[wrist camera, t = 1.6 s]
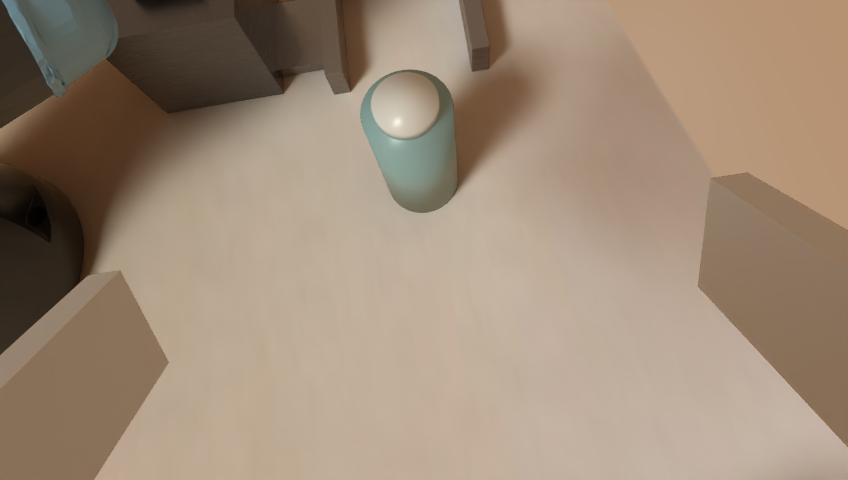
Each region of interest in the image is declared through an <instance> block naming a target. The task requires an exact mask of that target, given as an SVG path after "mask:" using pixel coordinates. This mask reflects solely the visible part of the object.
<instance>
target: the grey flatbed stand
mask: <svg viewBox="0 0 848 480" xmlns="http://www.w3.org/2000/svg"><path fill="white" fill-rule="evenodd" d="M107 1H108V3H109V5H110V7H111V9H112V10H113V12H114V15H115V17H116V20H117V24H118V41H117V44H116V47H115V49H114V50H113V52H112V53H111V54H110V55H109V57H107V58H106V59H107V60H108V61H109V62H110V63H111V64H112V65H114V66H115V67H116V68H117V69H118V70H119V71H120V72H122V73H123V74H124V75H125V76H126V77H127V78H128V79H129V80H131V81H132V82H133V83H134V84H135V85H136V86H137V87H138V88H140V89H141V90H142V91H143V92H144V93H145V94H146V95H147V96H149V97H150V98H151V99H152V100H153V101H154V102H155V103H156V104H158V105H159V106H160V107H161V108H162V109H163V110H164V111H166V112H167V113H171V112H177V111H183V110H189V109H195V108H201V107H207V106H213V105H219V104H224V103H230V102H236V101H242V100H248V99H254V98H260V97H266V96H272V95H278V94H284V91H283V76H287V75H293V74H299V73H305V72H311V71H317V70H323V69H324V70H325V76H326V78H327V80H328V82H329V84H330V86H331V88H332V90H333V93H334V94H340V93H346V92H350V83H349V73H348V63H347V53H346V43H345V33H344V23H343V13H342V3H341V0H293V1H288V2H282V3H279V1H278V0H107ZM459 3H460V9H461V14H462V20H463V25H464V30H465V36H466V41H467V47H468V52H469V58H470V63H471V68H472V71H477V70H483V69H489V51H490V45H489V40H488V35H487V30H486V25H485V20H484V15H483V10H482V5H481V0H459Z"/></svg>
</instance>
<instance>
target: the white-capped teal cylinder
mask: <svg viewBox="0 0 848 480" xmlns="http://www.w3.org/2000/svg"><path fill="white" fill-rule="evenodd" d="M360 117H361V123H362V126H363V129H364V131H365V134H366V136H367V138H368V141H369V143H370V145H371V148H372V150H373V152H374V155H375V157H376V160H377V162H378V164H379V167H380V169H381V171H382V174H383V176H384V178H385V181H386V183H387V186H388V188H389V190H390V193H391V195H392V197H393V198H394V200H395V201H396V202H397V203H398V204H399V205H400V206H402V207H403V208H405V209H407V210H409V211H412V212H418V213H426V212H431V211H435V210H437V209H439V208H441V207H443V206H444V205H445V204H447V203H448V202H449V201H450V199H451V198H452V197H453V195H454V193H455V191H456V189H457V185H458V170H457V153H456V137H455V121H454V105H453V100H452V97H451V94H450V92H449V90H448V88H447V87H446V86H445V84H444V83H443V82H442V81H440V80H439V79H438V78H437V77H435V76H433V75H431V74H429V73H427V72H423V71H419V70H401V71H396V72H393V73H390V74H388V75H386V76H384V77H382V78H381V79H379V80H378V81H377V82H376V83H375V84H373V85H372V87H371V88H370V89H369V90H368V92H367V93H366V95H365V97H364V99H363V102H362V105H361V113H360Z"/></svg>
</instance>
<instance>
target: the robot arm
mask: <svg viewBox="0 0 848 480" xmlns="http://www.w3.org/2000/svg"><path fill="white" fill-rule="evenodd" d="M117 41H118V24H117V20H116V17H115V15H114V12H113V10H112V9H111V7H110V5H109V3H108V1H107V0H0V128H2V127H3V126H5V125H7V124H8V123H10V122H11V121H13V120H14V119H16V118H18V117H19V116H21V115H22V114H24V113H25V112H27V111H29V110H30V109H32V108H33V107H35V106H36V105H38V104H40V103H41V102H43V101H44V100H46V99H47V98H49V97H51V96H52V95H55V96H56V97H58V98H59V97H61V96H63V95H64V94H65V93H66V88H67V86H68V85H70V84H71V83H73V82H74V81H75V80H77V79H78V78H80V77H81V76H82V75H84V74H85V73H87V72H88V71H90V70H91V69H92V68H94V67H95V66H97V65H98V64H99V63H101V62H102V61H104V60H105V59H106V58H107V57H109V55H110V54H111V53H112V52H113V50H114V49H115V47H116V44H117ZM82 258H83V238H82V231H81V227H80V223H79V220H78V217H77V215H76V212H75V210H74V208H73V206H72V205H71V203H70V202H69V200H68V199H67V198H66V197H65V195H64V194H63V193H62V192H61V191H60V190H59V189H57V188H56V187H55V186H53V185H52V184H51V183H49V182H47V181H45V180H43V179H41V178H39V177H37V176H35V175H33V174H31V173H29V172H26V171H24V170H22V169H20V168H18V167H15V166H12V165H9V164H5V163H1V162H0V480H94V479H95V477H96V476H97V474H98V472H99V471H100V469H101V468H102V466H103V465H104V463H105V461H106V460H107V458H108V457H109V455H110V454H111V452H112V451H113V449H114V447H115V446H116V444H117V443H118V441H119V440H120V438H121V436H122V435H123V433H124V432H125V430H126V429H127V427H128V425H129V424H130V422H131V421H132V419H133V418H134V416H135V414H136V413H137V411H138V410H139V408H140V407H141V405H142V404H143V402H144V400H145V399H146V397H147V396H148V394H149V393H150V391H151V389H152V388H153V386H154V385H155V383H156V382H157V380H158V378H159V377H160V375H161V374H162V372H163V371H164V369H165V367H166V366H167V364H168V363H169V362H168V360H167V358H166V356H165V354H164V352H163V350H162V349H161V347H160V345H159V343H158V341H157V339H156V337H155V335H154V333H153V332H152V330H151V328H150V326H149V324H148V322H147V320H146V318H145V316H144V314H143V313H142V311H141V309H140V307H139V305H138V303H137V301H136V299H135V297H134V296H133V294H132V292H131V290H130V288H129V286H128V284H127V282H126V280H125V279H124V277H123V275H122V273H121V271H120V270H119V271H112V272H106V273H100V274H93V275H88V276H87V277H86V278H85V279H84V280H82V281H81V282H80V283H79V284H78V285H77V282H78V279H79V275H80V271H81V266H82ZM698 287H699V288H700V289H701V290H702V291H703V292H704V293H705V295H706V296H707V297H708V298H709V299H710V300H711V301H712V302H713V303H714V304H715V305H716V306H717V307H718V308H719V310H720V311H721V312H722V313H723V314H724V315H725V316H726V317H727V318H728V319H729V320H730V321H731V322H732V323H733V325H734V326H735V327H736V328H737V329H738V330H739V331H740V332H741V333H742V334H743V335H744V336H745V337H746V338H747V340H748V341H749V342H750V343H751V344H752V345H753V346H754V347H755V348H756V349H757V350H758V351H759V352H760V354H761V355H762V356H763V357H764V358H765V359H766V360H767V361H768V362H769V363H770V364H771V365H772V366H773V367H774V369H775V370H776V371H777V372H778V373H779V374H780V375H781V376H782V377H783V378H784V379H785V380H786V381H787V382H788V384H789V385H790V386H791V387H792V388H793V389H794V390H795V391H796V392H797V393H798V394H799V395H800V396H801V397H802V399H803V400H804V401H805V402H806V403H807V404H808V405H809V406H810V407H811V408H812V409H813V410H814V411H815V412H816V414H817V415H818V416H819V417H820V418H821V419H822V420H823V421H824V422H825V423H826V424H827V425H828V426H829V428H830V429H831V430H832V431H833V432H834V433H835V434H836V435H837V436H838V437H839V438H840V439H841V440H842V441H843V443H844V444H845V445H846V446H847V447H848V230H846V229H844V228H843V227H841V226H839V225H838V224H836V223H834V222H833V221H831V220H829V219H827V218H826V217H823V216H822V215H820V214H819V213H817V212H815V211H813V210H812V209H810V208H808V207H806V206H805V205H803V204H801V203H799V202H798V201H796V200H794V199H793V198H791V197H789V196H787V195H785V194H783V193H782V192H780V191H779V190H777V189H775V188H773V187H772V186H770V185H768V184H766V183H765V182H762V181H761V180H759V179H757V178H756V177H754V176H752V175H751V174H749V173H742V174H736V175H729V176H722V177H717V178H710V186H709V194H708V203H707V212H706V220H705V229H704V238H703V246H702V255H701V263H700V272H699V281H698Z"/></svg>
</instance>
